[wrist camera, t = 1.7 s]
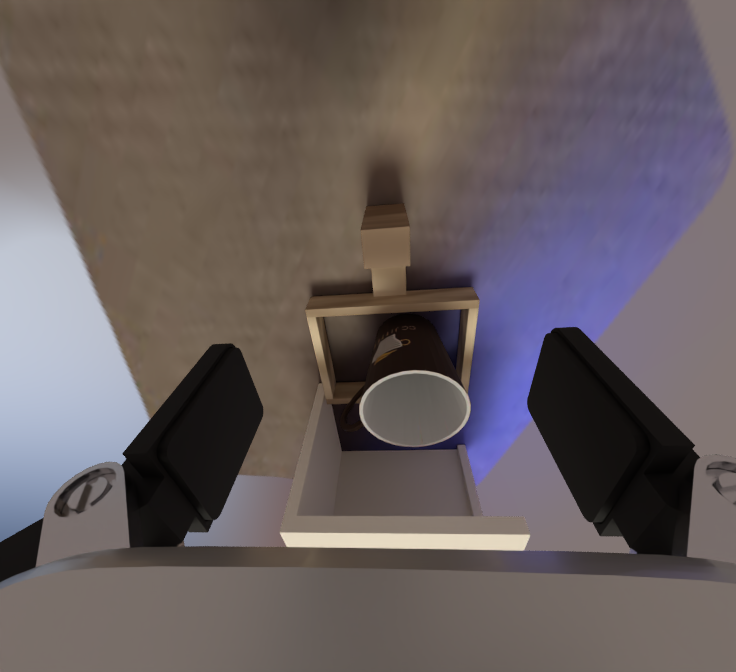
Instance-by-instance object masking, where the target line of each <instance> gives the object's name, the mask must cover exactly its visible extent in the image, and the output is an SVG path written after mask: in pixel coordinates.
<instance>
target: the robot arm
mask: <svg viewBox="0 0 736 672" xmlns="http://www.w3.org/2000/svg"><path fill="white" fill-rule="evenodd" d="M527 405H528V409H529V412H530V414H531V416H532V418H533V420H534V421H535V423H536V425H537V427H538V429H539V431H540V433H541V435H542V437H543V439H544V441H545V443H546V445H547V447H548V449H549V450H550V452H551V454H552V456H553V458H554V460H555V462H556V464H557V466H558V468H559V470H560V472H561V474H562V476H563V478H564V480H565V481H566V483H567V485H568V487H569V489H570V491H571V493H572V495H573V497H574V499H575V501H576V503H577V505H578V507H579V509H580V511H581V513H582V514H583V516H584V517H585V519H586V520H587V521H589V522H593V524H594V526H595V528H596V530H597V532H598V533H599V535H600V536H623V537H624V539H625V540H626V542H627V544H628V545H629V547H630V552H629V554H626V553H625V554H624V553H599V552H597V553H596V552H569V551H566V552H565V551H517V550H464V549H400V548H326V547H218V546H217V547H216V546H214V547H213V546H205V547H204V546H203V547H202V546H199V547H185V546H184V541H183V540H184V538H185V536H186V534H187V532H188V531H189V532H208V531H209V529H210V527H211V524H212V522H213V520H215V519H217V518H218V517H219V516H220V514H221V512H222V509H223V507H224V505H225V503H226V500H227V498H228V496H229V493H230V491H231V488H232V486H233V484H234V482H235V480H236V477H237V475H238V473H239V470H240V468H241V466H242V463H243V461H244V459H245V456H246V454H247V452H248V450H249V447H250V445H251V443H252V440H253V438H254V436H255V433H256V431H257V429H258V426H259V424H260V422H261V419H262V417H263V406H262V403H261V401H260V398H259V396H258V393H257V391H256V388H255V386H254V383H253V380H252V378H251V375H250V373H249V370H248V368H247V365H246V363H245V360H244V358H243V355H242V353H241V350H240V349H239V348H236V347H235V346H234V345H233V344H231V343H230V344H214V345H212V346H210V347H209V349H208V350H207V351H206V352H205V354H204V355H203V356H202V357H201V358H200V360H199V361H198V362H197V363H196V365H195V366H194V367H193V368H192V369H191V371H190V372H189V373H188V374H187V375H186V377H185V378H184V379H183V380H182V382H181V383H180V384H179V385H178V386H177V388H176V389H175V390H174V391H173V393H172V394H171V395H170V396H169V397H168V399H167V400H166V401H165V402H164V404H163V405H162V406H161V407H160V408H159V410H158V411H157V412H156V413H155V414H154V416H153V417H152V418H151V419H150V421H149V422H148V423H147V424H146V426H145V427H144V428H143V429H142V430H141V432H140V433H139V434H138V435H137V437H136V438H135V439H134V440H133V442H132V443H131V444H130V445H129V446H128V447H127V449H126V450H125V451H124V452H123V455H124V456H125V457H126V461H125V462H124V463H123V464H122V465H120V464H118V463H117V462H105V463H100V464H97V465H94V466H92V467H89V468H87V469H85V470H83V471H82V472H80V473H78V474H77V475H75V476H74V477H72V478H71V479H70V480H68V481H67V482H66V483H64V484H63V485H62V486H61V488H60V489H59V490H58V491H57V492H56V493H55V494H54V495H53V497H52V498H51V499H50V501H49V502H48V504H47V507H46V510H45V513H44V518H42V519H41V520H39V521H37V522H35V523H33V524H32V525H30V526H28V527H26V528H25V529H23V530H21V531H19V532H17V533H16V534H14V535H12V536H11V537H9V538H7V539H5V540H3V541H2V542H0V672H736V458H734V457H731V456H723V455H717V454H715V455H705V456H703V457H701V458H700V457H699V456H698V455H697V454H696V453H695V452H694V451H693V447H694V446H695V445H694V444H693V443H692V442H691V441H690V440H689V439H688V438H687V437H686V436H685V435H684V434H683V433H682V432H681V431H680V430H679V429H678V428H677V427H676V426H675V425H674V424H673V423H672V422H671V421H670V420H669V419H668V418H667V416H665V415H664V413H663V412H662V411H661V410H660V409H659V408H658V407H657V406H656V405H655V404H654V403H653V402H652V401H651V400H650V399H649V398H648V397H647V396H646V395H645V394H644V393H643V392H642V391H641V390H640V389H639V388H638V387H637V386H635V384H634V383H633V382H632V381H631V380H630V379H629V378H628V377H627V376H626V375H625V374H624V373H623V372H622V371H621V370H620V369H619V368H618V367H617V366H616V365H615V364H614V363H613V362H612V361H611V360H610V359H609V358H608V357H607V356H606V355H605V354H604V353H603V352H602V351H601V350H600V349H599V348H598V347H597V346H596V345H595V344H594V343H593V342H592V341H591V340H590V339H589V338H588V337H587V336H586V335H585V334H584V333H583V332H582V331H581V330H580V329H579V328H578V327H566V328H554V329H553V330H552V331H551V333H548V334H546V335H545V338H544V341H543V345H542V348H541V352H540V355H539V359H538V363H537V366H536V370H535V374H534V377H533V381H532V385H531V388H530V392H529V395H528V400H527Z"/></svg>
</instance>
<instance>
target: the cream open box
mask: <svg viewBox="0 0 736 672" xmlns="http://www.w3.org/2000/svg"><path fill="white" fill-rule="evenodd" d="M280 534H281V536H282V538H283V540H284V542H285V544H286V546H287V547H326V548H400V549H464V550H517V551H524V548H525V546H526V544H527V541H528V539H529V537H530V532H529V529H528V526H527V524H526V521H525V518H524V517H488V516H486V517H484V516H483V514H482V510H481V506H480V502H479V498H478V494H477V490H476V486H475V482H474V478H473V474H472V470H471V466H470V462H469V458H468V454H467V451H466V447H465V445H457V449H455V450H389V451H342V450H341V445H340V440H339V436H338V431H337V427H336V422H335V418H334V413H333V409H332V404H327V402H326V398H325V393H324V389H323V385H322V383H319V384H318V388H317V391H316V395H315V399H314V403H313V407H312V411H311V414H310V418H309V422H308V426H307V430H306V433H305V437H304V441H303V445H302V449H301V453H300V456H299V460H298V464H297V468H296V472H295V475H294V479H293V483H292V487H291V491H290V495H289V498H288V502H287V506H286V510H285V514H284V518H283V521H282V525H281V529H280Z"/></svg>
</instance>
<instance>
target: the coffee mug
mask: <svg viewBox="0 0 736 672" xmlns="http://www.w3.org/2000/svg"><path fill="white" fill-rule="evenodd" d="M361 396H362V397H361ZM360 397H361V401H360V405H359V414H360V418H361V420H359V421H358V422H356V423H355V424H352V425H348V424H347V422H346V419H347V416H348V414H349V412H350V410H351V409H352V407H353V405H354V404H355V403H356V401H357V400H358V399H359V398H360ZM470 412H471V403H470V400H469V396H468V394H467V392H466V390H465V388H464V386H463V384H462V382H461V380H460V378H459V376H458V374H457V372H456V370H455V368H454V366H453V364H452V362H451V360H450V357H449V355H448V353H447V351H446V349H445V347H444V345H443V343H442V341H441V339H440V337H439V335H438V333H437V331H436V329H435V327H434V326H433V324H432V323H431V322H430V321H429V320H427V319H426V318H424V317H422V316H420V315H416V314H400V315H396V316H394V317H392V318H390V319H388V320H387V321H386V322H384V323H383V325H382V326H381V327H380V329H379V330H378V333H377V337H376V341H375V345H374V349H373V353H372V357H371V361H370V365H369V369H368V373H367V377H366V381H365V385H364V386H363V387H362V388H361V389H360V390H359V391H358V392H357V393H356V394H355V395H354V397H353V398H352V399H351V401H350V402H349V403H348V405H347V406H346V408H345V409H344V411H343V413H342V415H341V419H340V425H341V428H342V429H343V430H345V431H347V432H353V431H356V430H359V429H360V428H362V427H363V426H365V428H366V429H367V430H368V431H369V432H370V433H371V434H373V435H374V436H375V437H377V438H378V439H380V440H382V441H384V442H387V443H390V444H393V445H398V446H403V447H423V446H429V445H434V444H437V443H440V442H443V441H445V440H447V439H449V438H451V437H452V436H453V435H455V434H456V433H458V432H459V431H460V430H461V429H462V428H463V427H464V425H465V424H466V422H467V420H468V418H469V415H470Z"/></svg>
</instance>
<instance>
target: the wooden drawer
mask: <svg viewBox="0 0 736 672" xmlns="http://www.w3.org/2000/svg"><path fill="white" fill-rule="evenodd" d="M361 240H362V250H363V260H364V269H371V272H372V283H373V293H365V294H348V295H332V296H315V297H311V298H310V300H309V302H308V305H307V307H306V309H305V311H306V316H307V320H308V324H309V329H310V333H311V337H312V342H313V346H314V350H315V355H316V359H317V363H318V367H319V372H320V376H321V380H322V385H323V389H324V393H325V398H326V402H327V404H348V403H349V402H350V401H351V399H352V398H353V397H354V395H355V394H356V393H357V392H358V391H359V390H360V389H361V388H362V387H363V386H364V385H365V382H342V383H336V379H335V374H334V369H333V364H332V359H331V354H330V349H329V344H328V339H327V334H326V329H325V324H324V318H323V317H327V316H345V315H364V314H382V313H400V312H419V311H437V310H455V309H461V320H460V331H459V342H458V353H457V363H456V372H457V374H458V376H459V378H460V380H461V382H462V384H463V386H464V388H465V390H466V392H467V394H468V387H469V379H470V371H471V364H472V356H473V348H474V340H475V332H476V324H477V316H478V308H479V298H478V296H477V294H476V293H475V291H474V289H473V287H464V288H447V289H431V290H414V291H406V266H410V225H409V221H408V217H407V213H406V210H405V206H404V203H402V204H390V205H378V206H367V207H366V210H365V214H364V218H363V222H362V226H361ZM361 397H362V396H361ZM361 397H360V398H359V399H358V400H357V401H356V403H360V401H361Z"/></svg>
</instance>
